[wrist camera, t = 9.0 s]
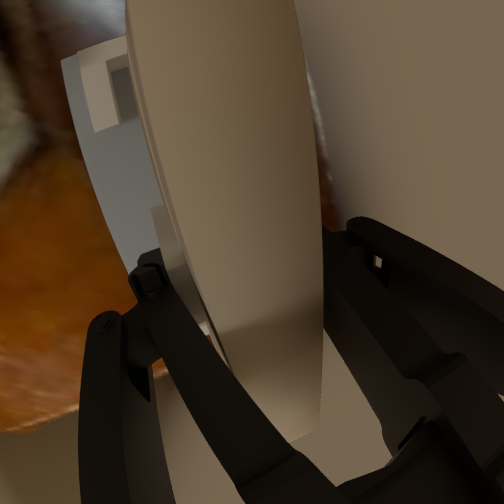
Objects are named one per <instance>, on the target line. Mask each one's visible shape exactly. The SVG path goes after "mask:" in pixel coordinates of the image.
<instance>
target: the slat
mask: <svg viewBox="0 0 504 504" xmlns="http://www.w3.org/2000/svg"><path fill="white" fill-rule="evenodd" d="M125 17H126V44H127V60H128V67H129V72H130V77H131V81H132V86H133V91H134V95H135V100H136V104H137V108H138V112H139V117H140V121H141V125H142V129H143V133H144V137H145V140H146V144H147V148H148V152H149V155H150V159H151V163H152V166H153V170H154V173H155V177H156V180H157V184H158V187H159V191H160V194H161V197H162V201H163V204H164V206H165V209H166V211H167V214H168V217H169V219H170V222H171V224H172V227H173V229H174V232H175V234H176V237H177V239H178V242H179V244H180V247H181V249H182V252H183V254H184V257H185V259H186V261H187V264H188V267H189V270H190V273H191V276H192V278H193V281H194V284H195V287H196V290H197V292H198V295H199V298H200V301H201V303H202V306H203V309H204V311H205V314H206V317H207V319H208V321H206V322H205V324H206V326H207V329H208V331H209V334H210V336H211V338H212V341H213V343H214V345H215V348H216V350H217V352H218V354H219V355H220V357H221V358H222V359H223V361H224V362H225V364H226V365H227V366H228V368H229V369H230V370H231V372H232V373H233V374H234V376H235V377H236V378H237V380H238V381H239V382H240V384H241V385H242V386H243V388H244V389H245V390H246V392H247V393H248V394H249V395H250V397H251V398H252V399H253V401H254V402H255V403H256V404H257V406H258V407H259V408H260V409H261V411H262V412H263V413H264V414H265V416H266V417H267V418H268V419H269V420H270V422H271V423H272V424H273V425H274V426H275V428H276V429H277V430H278V431H279V432H280V434H281V435H282V436H283V437H284V438H285V439H286V441H287V442H288V443H290V442H292V441H294V440H296V439H298V438H300V437H302V436H304V435H306V434H308V433H309V432H311V431H313V430H315V429H317V428H318V424H319V412H320V398H321V380H322V355H323V249H322V224H321V206H320V191H319V177H318V165H317V154H316V144H315V134H314V125H313V116H312V108H311V100H310V93H309V86H308V79H307V72H306V66H305V59H304V53H303V47H302V42H301V37H300V31H299V26H298V21H297V15H296V11H295V6H294V2H293V0H125Z"/></svg>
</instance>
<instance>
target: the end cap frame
mask: <svg viewBox="0 0 504 504" xmlns="http://www.w3.org/2000/svg"><path fill="white" fill-rule="evenodd" d="M61 66H62V72H63V77H64V82H65V87H66V92H67V97H68V101H69V105H70V110H71V114H72V118H73V122H74V126H75V129H76V133H77V137H78V140H79V144H80V147H81V151H82V154H83V157H84V160H85V164H86V167H87V170H88V173H89V176H90V179H91V182H92V185H93V188H94V190H95V193H96V196H97V199H98V202H99V204H100V207H101V210H102V212H103V215H104V217H105V220H106V223H107V225H108V228H109V230H110V232H111V235H112V237H113V240H114V242H115V244H116V247H117V249H118V251H119V254H120V256H121V258H122V260H123V263H124V265H125V267H126V269H127V271H128V274H130V272H131V271H132V270H133V269H134V268H136V267H137V266H138V265H137V261H138V259H139V257H140V255H141V254H143V253H146V252H148V251H151V250H154V249H156V248H159V247H160V246H159V242H158V238H157V234H156V230H155V226H154V221H153V217H152V213H151V209H150V208H152V207H155V206H158V205H161V204H163V201H162V197H161V194H160V191H159V187H158V184H157V180H156V177H155V173H154V170H153V166H152V163H151V159H150V155H149V152H148V148H147V144H146V140H145V137H144V133H143V129H142V125H141V121H140V117H139V112H138V108H137V104H136V100H135V95H134V91H133V86H132V81H131V77H130V72H129V67H128V60H127V44H126V35H125V36H121V37H118V38H115V39H112V40H108V41H105V42H102V43H99V44H96V45H94V46H91V47H88V48H85V49H83V50H80V51H78V52H77V54H75V55H72V56H70V57H67V58H65V59H63V60H61ZM198 325H199V327H200V328H201V330H202V331H203V332H204V334H205V335H208V334H209V331H208V329H207V326H206V324H205V322H203V323H200V324H198Z"/></svg>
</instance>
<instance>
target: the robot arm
mask: <svg viewBox="0 0 504 504" xmlns="http://www.w3.org/2000/svg"><path fill="white" fill-rule="evenodd" d="M150 209H151V213H152V217H153V221H154V226H155V230H156V234H157V238H158V242H159V246H160V247H159V248H156V249H154V250H151V251H148V252H146V253H143V254H141V255H140V257H139V259H138V261H137V265H138V266H137V267H136V268H134V269H133V270H132V271H131V272H130V274H129V276H128V282H129V284H130V286H131V288H132V290H133V292H134V294H135V296H136V298H137V300H138V303H137V304H136V305H135V306H134V307H133V308H132V309H131V310H129V311H128V312H127V313H125V314H123V315H122V316H121V315H120V314H119V313H118V312H117V311H112V310H111V311H105V312H103V313H101V314H99V315H98V316H96V317H95V318H94V319H93V320H92V322H91V323H90V325H89V327H88V332H87V338H86V345H85V352H84V359H83V368H82V377H81V388H80V402H79V422H78V460H79V461H78V462H79V482H80V495H81V504H176V502H175V498H174V495H173V490H172V486H171V482H170V478H169V472H168V468H167V463H166V459H165V453H164V448H163V442H162V436H161V430H160V425H159V418H158V411H157V404H156V396H155V388H154V379H153V370H152V365H151V364H153V363H154V362H155V361H157V360H158V359H160V358H161V357H162V358H163V361H164V363H165V365H166V367H167V369H168V371H169V373H170V375H171V377H172V379H173V381H174V383H175V385H176V387H177V389H178V390H179V393H180V395H181V396H182V398H183V400H184V402H185V404H186V406H187V408H188V410H189V411H190V413H191V415H192V417H193V419H194V420H195V422H196V424H197V426H198V427H199V429H200V431H201V432H202V434H203V435H204V437H205V439H206V441H207V442H208V444H209V445H210V447H211V449H212V451H213V452H214V454H215V455H216V457H217V458H218V460H219V461H220V463H221V465H222V466H223V468H224V469H225V470H226V472H227V473H228V475H229V476H230V478H231V480H232V481H233V483H234V484H235V487H236V489H237V491H238V493H239V495H240V496H241V498H242V499H243V501H244V502H245V504H504V402H503V401H502V399H501V398H500V397H499V395H498V394H500V395H503V396H504V291H503V290H501V289H500V288H498V287H496V286H495V285H493V284H492V283H490V282H488V281H487V280H485V279H483V278H482V277H480V276H478V275H477V274H475V273H474V272H472V271H470V270H468V269H467V268H465V267H463V266H462V265H460V264H458V263H456V262H455V261H453V260H451V259H449V258H447V257H445V256H444V255H442V254H440V253H439V252H437V251H435V250H433V249H431V248H429V247H427V246H426V245H423V244H422V243H420V242H418V241H416V240H414V239H412V238H410V237H408V236H406V235H404V234H402V233H400V232H398V231H396V230H394V229H392V228H390V227H388V226H386V225H384V224H382V223H380V222H378V221H376V220H374V219H371V218H368V217H363V216H361V217H355V218H352V219H350V220H348V221H347V224H346V231H339V232H332V233H331V232H330V231H329V230H328V229H327V228H325V227H324V226H322V249H323V327H324V329H325V331H326V332H327V334H328V336H329V337H330V339H331V340H332V342H333V344H334V345H335V347H336V349H337V350H338V352H339V354H340V355H341V357H342V358H343V360H344V362H345V364H346V365H347V367H348V368H349V370H350V372H351V374H352V375H353V377H354V378H355V380H356V382H357V383H358V385H359V387H360V389H361V390H362V392H363V394H364V395H365V397H366V398H367V400H368V402H369V404H370V406H371V407H372V409H373V411H374V412H375V414H376V416H377V417H378V419H379V421H380V423H381V426H382V435H383V439H384V442H385V444H386V446H387V448H388V449H389V451H390V453H391V455H392V457H393V458H392V459H391V460H390V461H389V462H388V463H387V464H386V466H385V467H384V468H381V469H379V470H376V471H374V472H372V473H369V474H366V475H363V476H361V477H358V478H355V479H352V480H349V481H346V482H344V483H343V484H341V485H339V486H337V487H335V486H334V485H333V484H332V483H331V482H330V481H329V480H328V479H327V477H326V476H324V475H323V473H322V472H321V471H320V470H319V469H318V468H317V467H316V466H315V465H314V464H313V463H312V462H311V461H310V460H309V459H308V458H307V457H306V456H305V455H304V454H302V453H301V452H299V451H297V450H295V449H294V448H293V447H292V446H291V445H290V444H289V443H288V442H287V441H286V439H285V438H284V437H283V436H282V435H281V434H280V432H279V431H278V430H277V429H276V428H275V426H274V425H273V424H272V423H271V422H270V420H269V419H268V418H267V417H266V416H265V414H264V413H263V412H262V411H261V409H260V408H259V407H258V406H257V404H256V403H255V402H254V401H253V399H252V398H251V397H250V395H249V394H248V393H247V392H246V390H245V389H244V388H243V386H242V385H241V384H240V382H239V381H238V380H237V378H236V377H235V376H234V374H233V373H232V372H231V370H230V369H229V368H228V366H227V365H226V364H225V362H224V361H223V359H222V358H221V357H220V355H219V354H218V352H217V351H216V350H215V348H214V347H213V345H212V344H211V343H210V341H209V340H208V338H207V337H206V335H205V334H204V332H203V331H202V330H201V328H200V327H199V325H198V324H200V323H203V322H206V321H208V319H207V317H206V314H205V311H204V309H203V306H202V303H201V301H200V298H199V295H198V292H197V290H196V287H195V284H194V281H193V278H192V276H191V273H190V270H189V267H188V264H187V261H186V259H185V257H184V254H183V252H182V249H181V247H180V244H179V242H178V239H177V237H176V234H175V232H174V229H173V227H172V224H171V222H170V219H169V217H168V214H167V211H166V209H165V206H164V204H161V205H158V206H155V207H152V208H150ZM376 256H378V257H379V258H381V259H382V265H381V268H380V267H378V266H376Z"/></svg>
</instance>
